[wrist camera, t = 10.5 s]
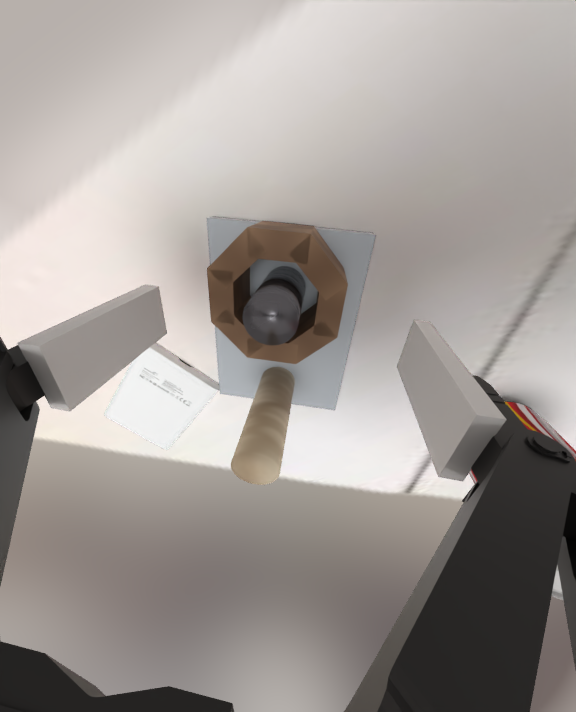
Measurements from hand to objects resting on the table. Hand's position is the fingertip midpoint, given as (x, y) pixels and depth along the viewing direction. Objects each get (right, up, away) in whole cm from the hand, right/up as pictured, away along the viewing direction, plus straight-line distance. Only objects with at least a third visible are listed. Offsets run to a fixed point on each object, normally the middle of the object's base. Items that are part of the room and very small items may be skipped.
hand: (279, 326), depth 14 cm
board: (0, +1, +8) cm, 8 cm away
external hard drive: (-13, -6, +15) cm, 21 cm away
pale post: (0, -4, +10) cm, 10 cm away
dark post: (0, +3, +5) cm, 6 cm away
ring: (0, +4, +5) cm, 6 cm away
